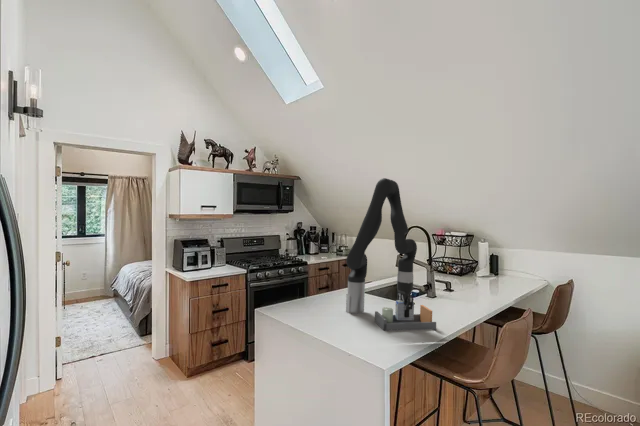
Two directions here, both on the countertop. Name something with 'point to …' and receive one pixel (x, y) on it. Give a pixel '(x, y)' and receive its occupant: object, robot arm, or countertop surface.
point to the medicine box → (400, 311)
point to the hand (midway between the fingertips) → (404, 315)
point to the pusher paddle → (425, 314)
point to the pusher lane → (403, 323)
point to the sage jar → (388, 314)
